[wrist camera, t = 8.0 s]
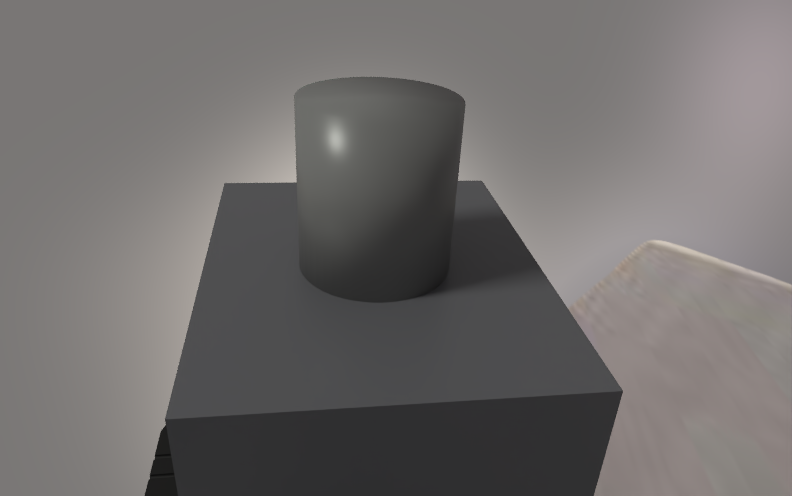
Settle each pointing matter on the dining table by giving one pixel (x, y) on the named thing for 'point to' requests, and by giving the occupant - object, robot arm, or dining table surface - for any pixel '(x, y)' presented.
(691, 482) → the dining table surface
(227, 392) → the block
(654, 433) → the dining table surface
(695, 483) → the dining table surface
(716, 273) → the dining table surface
